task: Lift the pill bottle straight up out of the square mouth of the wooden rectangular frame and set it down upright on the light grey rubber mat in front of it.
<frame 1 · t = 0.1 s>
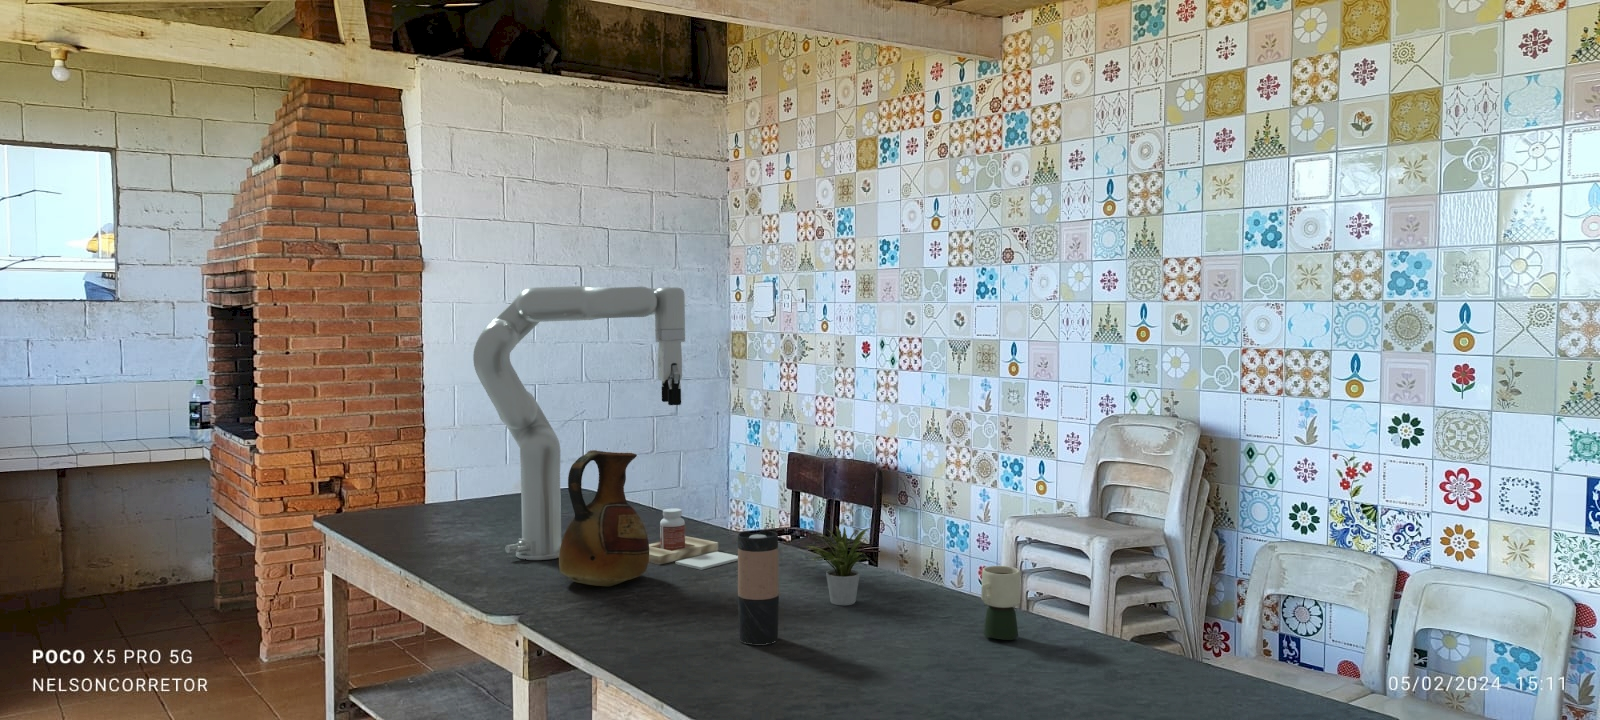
hand: (671, 403, 288), 37 cm above the table, tool pointing down, fingers open, 9 cm apart
wooden rectangular frame: (672, 553, 282), on the table
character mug: (1000, 639, 212), on the table
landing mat: (709, 561, 274), on the table
house plant: (845, 601, 239), on the table
travel mug: (758, 641, 211), on the table
ceramic pitcher: (604, 583, 255), on the table
pill bottle: (672, 554, 283), resting in wooden rectangular frame
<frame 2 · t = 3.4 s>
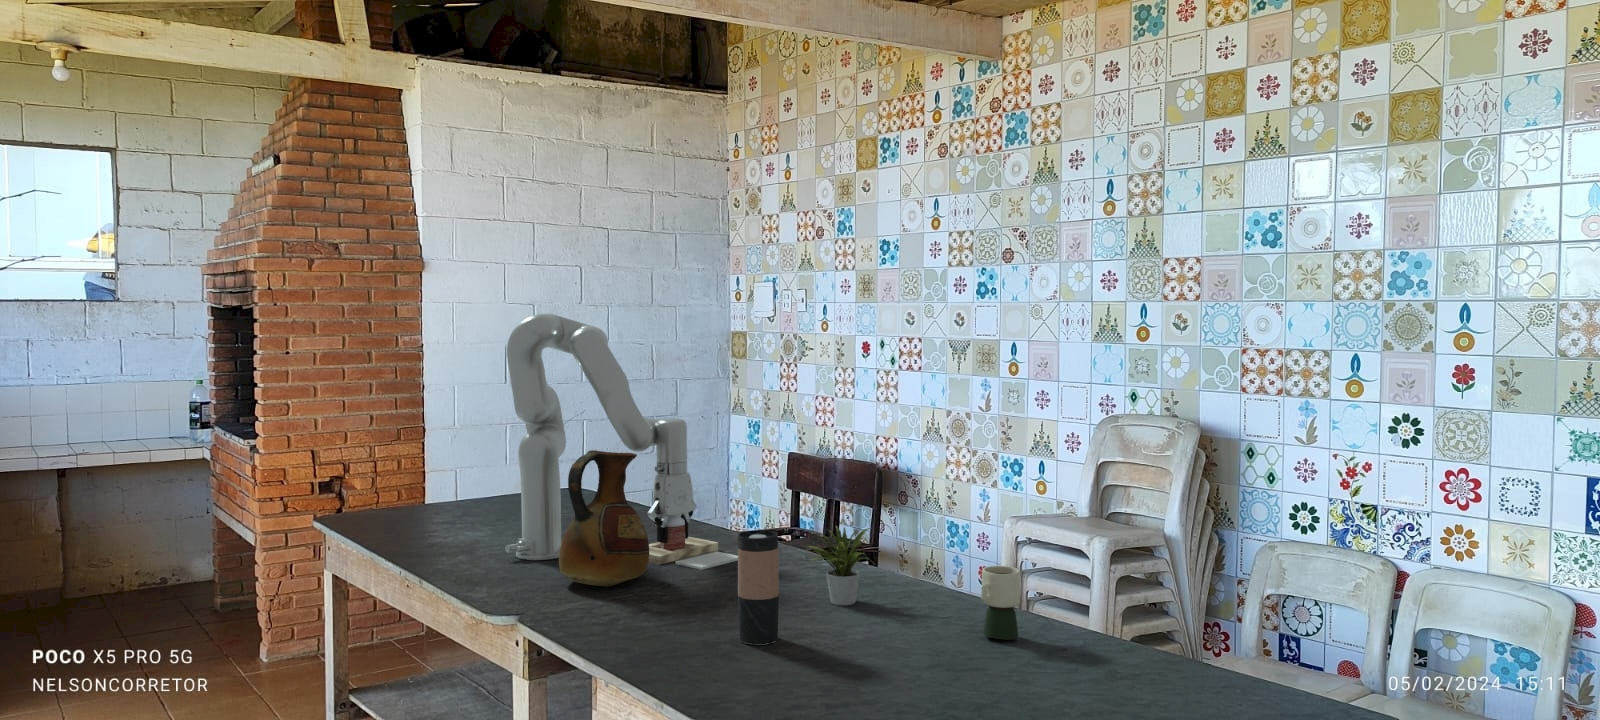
hand: (672, 539, 282), 4 cm above the table, tool pointing down, fingers closed on pill bottle, 6 cm apart
pill bottle: (672, 554, 282), resting in wooden rectangular frame, touching gripper
everything else where it was.
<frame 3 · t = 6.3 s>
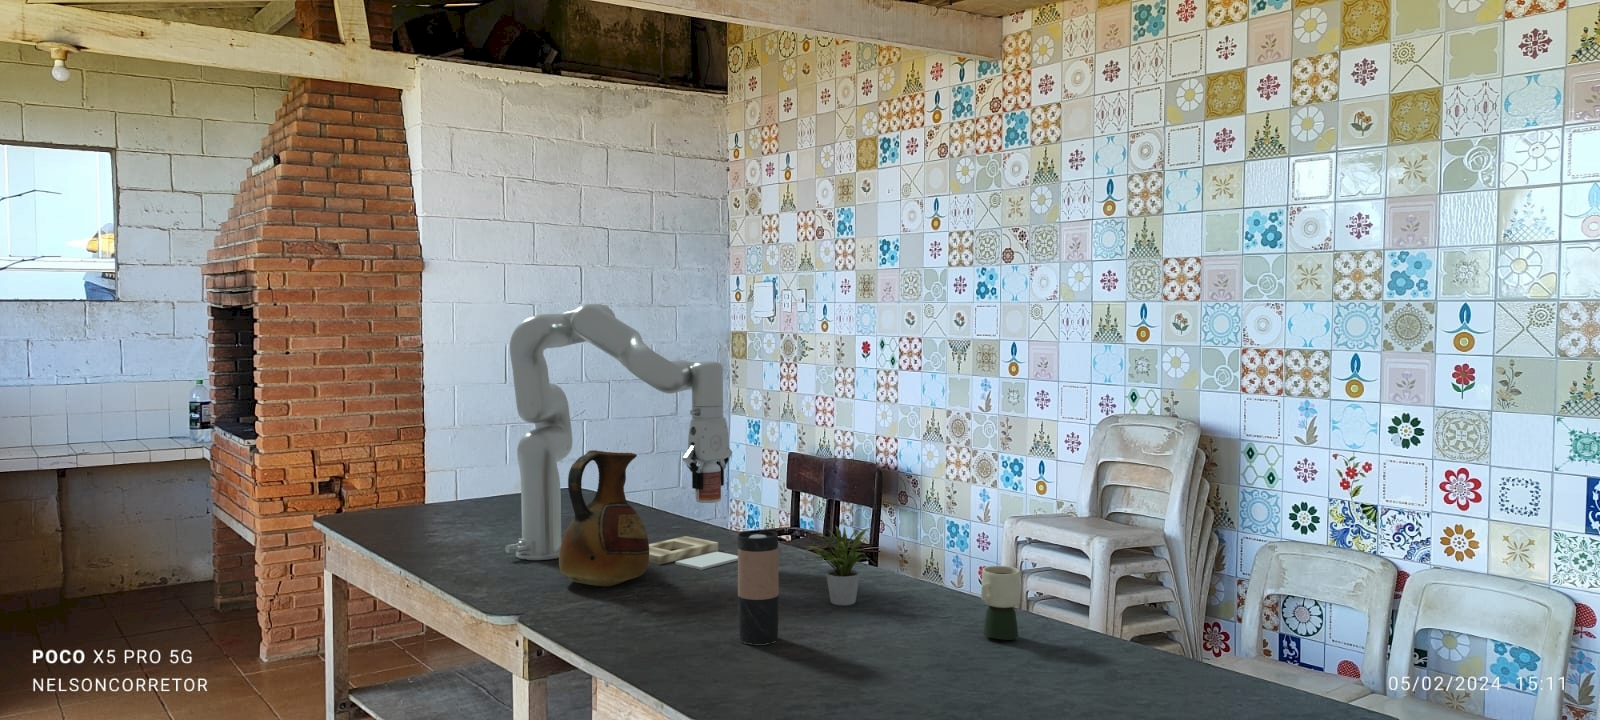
hand: (708, 486, 273), 18 cm above the table, tool pointing down, fingers closed on pill bottle, 6 cm apart
pill bottle: (708, 502, 273), point 15 cm above the table, touching gripper
everything else where it was.
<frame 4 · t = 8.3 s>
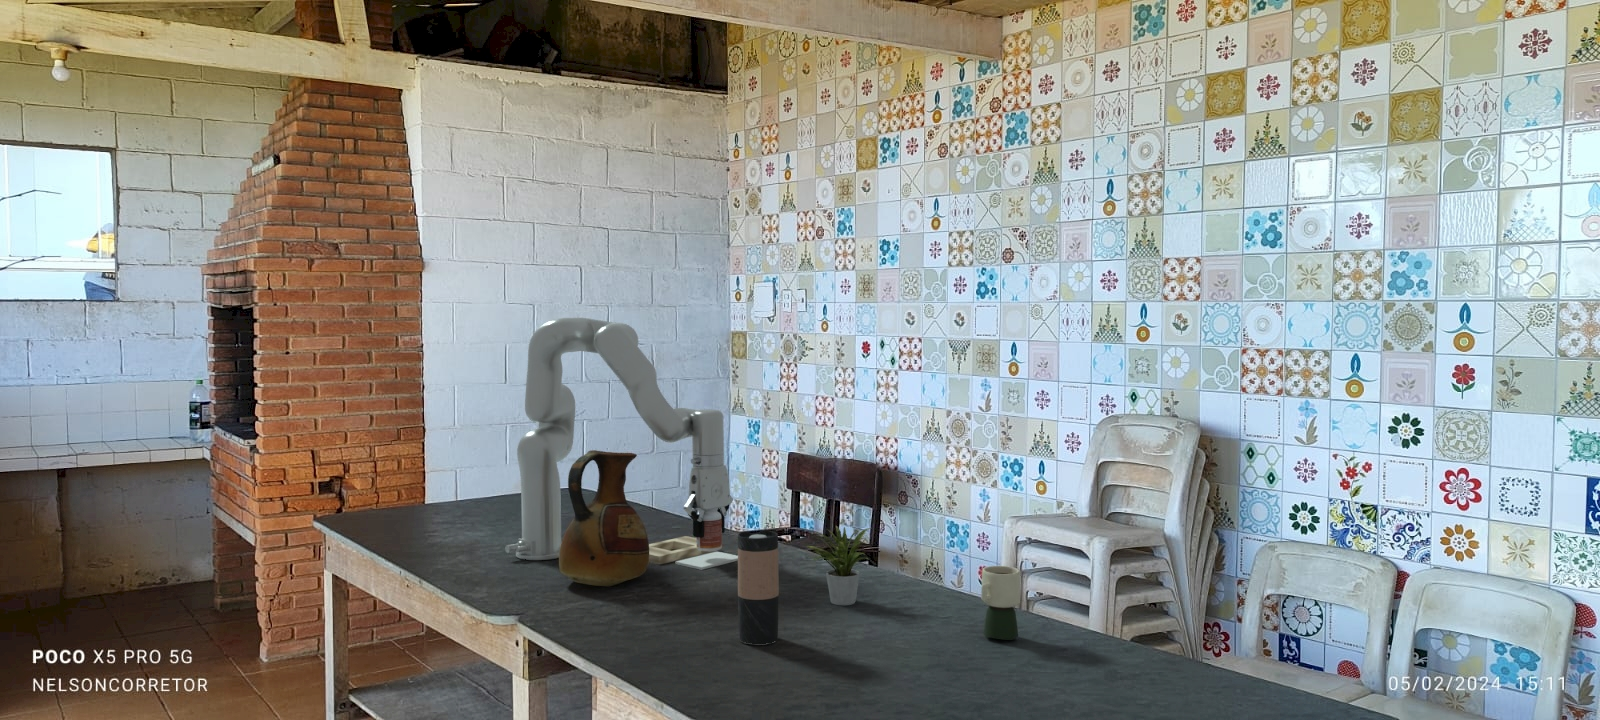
hand: (709, 533, 274), 7 cm above the table, tool pointing down, fingers closed on pill bottle, 6 cm apart
pill bottle: (709, 549, 274), point 3 cm above the table, touching gripper
everything else where it was.
when the fingers open (6 cm above the table, at t = 9.5 s): pill bottle drops 1 cm, resting on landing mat.
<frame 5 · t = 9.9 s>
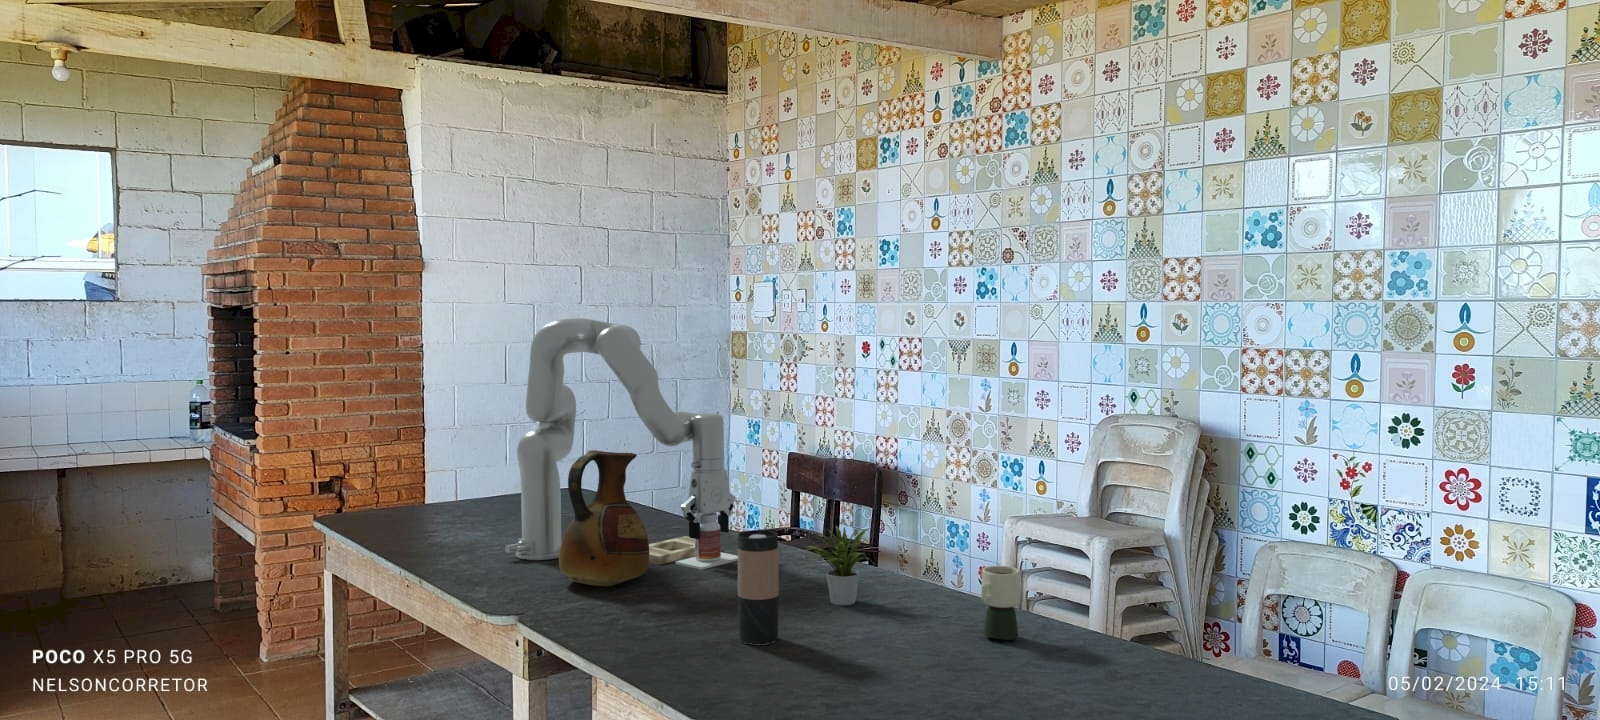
hand: (709, 535, 274), 7 cm above the table, tool pointing down, fingers open, 9 cm apart
pill bottle: (707, 560, 274), resting on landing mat
everything else where it was.
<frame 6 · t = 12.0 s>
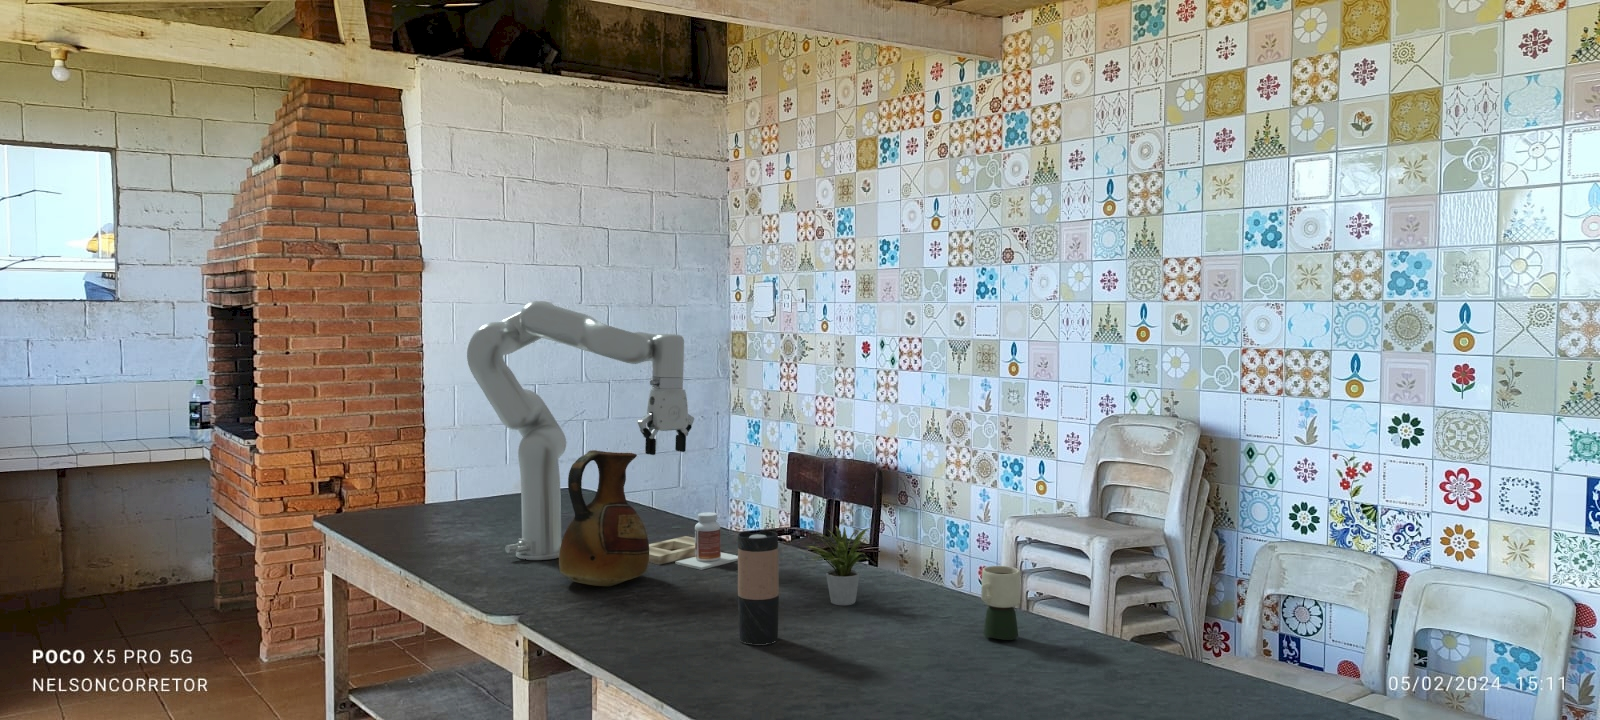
hand: (665, 452, 280), 26 cm above the table, tool pointing down, fingers open, 9 cm apart
nothing on the table moved.
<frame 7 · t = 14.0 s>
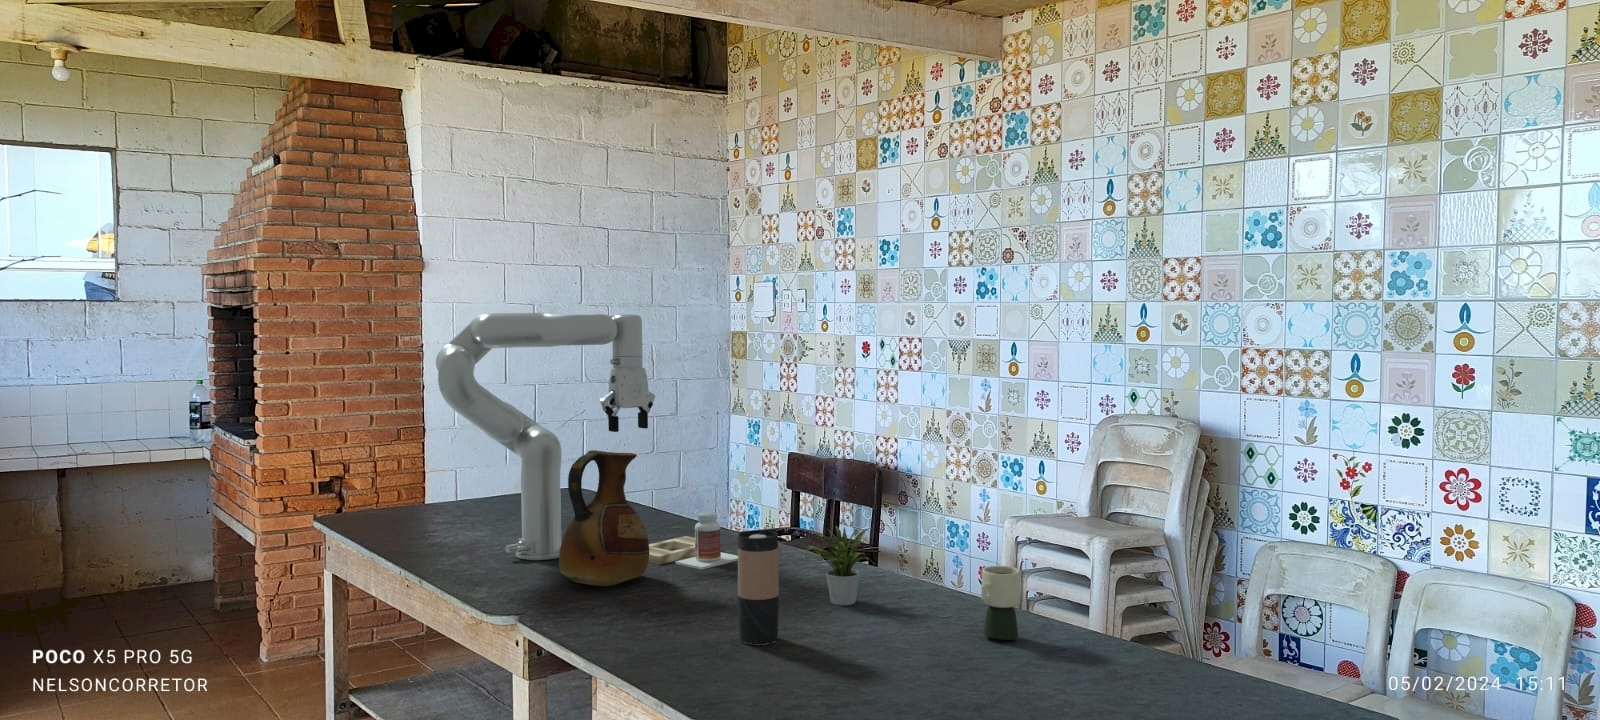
hand: (628, 429, 288), 30 cm above the table, tool pointing down, fingers open, 9 cm apart
nothing on the table moved.
at the end: pill bottle inside the target area on the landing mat (0.4 cm from its centre), point 0.4 cm above the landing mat's base; pill bottle tilted 0°; the gripper is holding nothing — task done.
